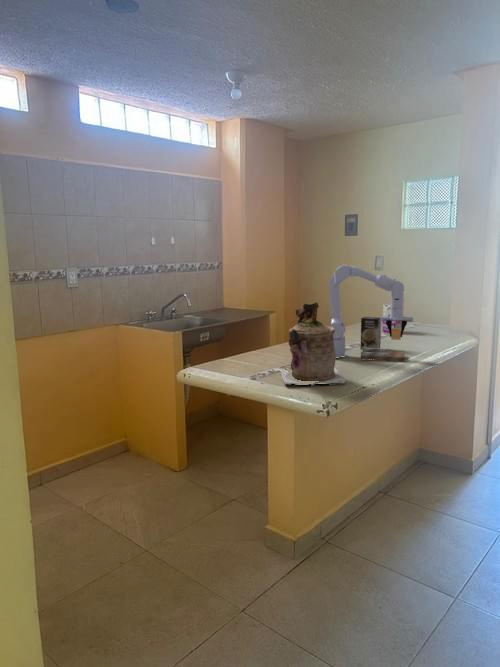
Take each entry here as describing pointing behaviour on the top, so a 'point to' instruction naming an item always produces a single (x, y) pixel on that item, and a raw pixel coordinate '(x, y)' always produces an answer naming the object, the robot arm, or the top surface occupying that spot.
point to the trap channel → (382, 354)
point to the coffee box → (370, 332)
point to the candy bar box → (387, 314)
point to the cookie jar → (312, 350)
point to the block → (396, 334)
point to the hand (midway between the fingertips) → (396, 336)
